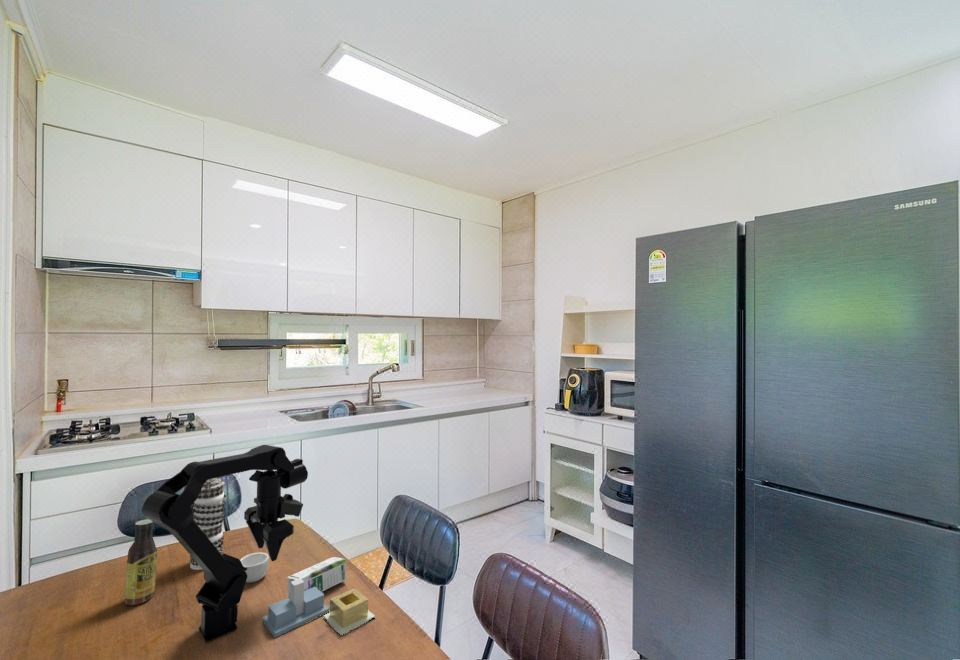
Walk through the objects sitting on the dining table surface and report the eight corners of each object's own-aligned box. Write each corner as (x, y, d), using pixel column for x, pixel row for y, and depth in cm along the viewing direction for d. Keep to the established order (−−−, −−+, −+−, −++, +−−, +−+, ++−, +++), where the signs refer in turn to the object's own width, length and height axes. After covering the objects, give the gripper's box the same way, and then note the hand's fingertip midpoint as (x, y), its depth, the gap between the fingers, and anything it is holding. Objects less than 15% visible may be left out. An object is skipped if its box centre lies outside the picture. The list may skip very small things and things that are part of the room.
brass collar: (342, 628, 100) (343, 611, 100) (329, 615, 105) (330, 598, 105) (367, 615, 105) (368, 599, 105) (354, 603, 110) (354, 588, 110)
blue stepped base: (275, 637, 98) (276, 600, 98) (262, 621, 103) (263, 585, 103) (330, 611, 107) (331, 577, 107) (315, 597, 113) (316, 565, 113)
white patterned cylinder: (191, 558, 131) (194, 476, 132) (225, 552, 135) (228, 473, 136) (185, 573, 123) (188, 486, 124) (222, 566, 127) (224, 482, 128)
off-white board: (341, 636, 98) (341, 633, 98) (323, 617, 105) (323, 615, 105) (375, 618, 105) (375, 615, 105) (356, 602, 111) (356, 599, 111)
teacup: (259, 586, 117) (259, 567, 117) (231, 585, 118) (232, 566, 118) (277, 567, 127) (277, 549, 127) (252, 566, 128) (252, 548, 128)
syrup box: (347, 580, 120) (299, 604, 108) (334, 577, 123) (286, 600, 111) (345, 558, 120) (298, 580, 109) (333, 556, 124) (285, 577, 112)
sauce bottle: (137, 608, 107) (140, 529, 107) (117, 605, 108) (120, 526, 109) (161, 593, 113) (164, 518, 114) (142, 590, 115) (145, 516, 115)
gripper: (314, 495, 111) (313, 556, 111) (286, 478, 124) (284, 532, 124) (269, 507, 103) (268, 572, 103) (244, 487, 116) (242, 545, 116)
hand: (267, 554), depth 111 cm, fingers open, 9 cm apart
